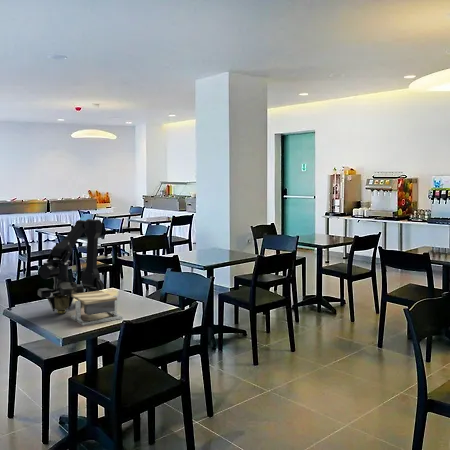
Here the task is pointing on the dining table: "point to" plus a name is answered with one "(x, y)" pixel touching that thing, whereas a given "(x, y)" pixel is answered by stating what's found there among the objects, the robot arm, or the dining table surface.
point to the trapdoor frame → (78, 319)
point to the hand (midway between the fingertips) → (61, 309)
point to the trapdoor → (96, 302)
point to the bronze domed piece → (61, 303)
